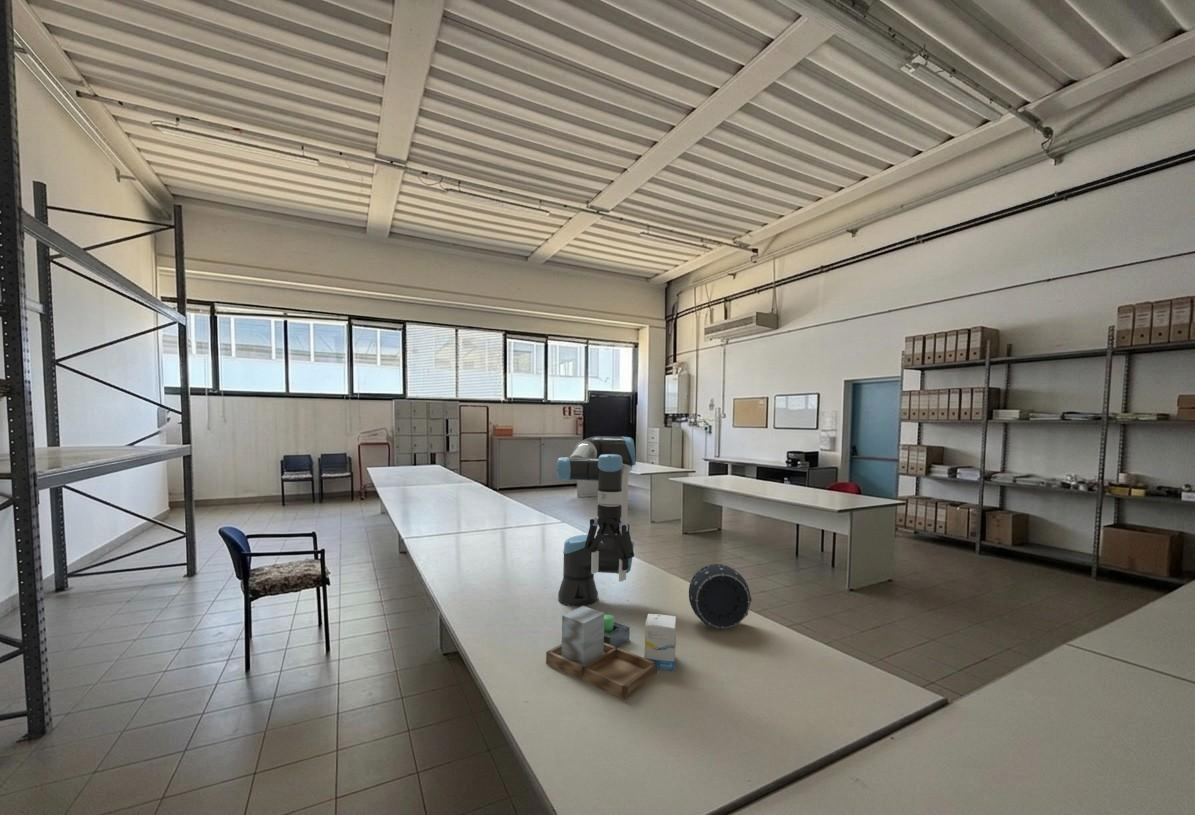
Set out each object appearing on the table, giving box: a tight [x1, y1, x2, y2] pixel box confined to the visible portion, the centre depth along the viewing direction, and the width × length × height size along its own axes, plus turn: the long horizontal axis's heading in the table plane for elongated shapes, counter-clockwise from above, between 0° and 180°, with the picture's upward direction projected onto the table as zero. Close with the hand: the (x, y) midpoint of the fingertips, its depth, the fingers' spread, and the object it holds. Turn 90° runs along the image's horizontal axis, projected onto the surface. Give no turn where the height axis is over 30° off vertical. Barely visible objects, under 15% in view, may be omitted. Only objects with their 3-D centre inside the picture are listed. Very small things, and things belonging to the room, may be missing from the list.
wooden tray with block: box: [545, 606, 658, 701], centre depth 129 cm, size 27×15×13 cm, turn 52°
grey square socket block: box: [604, 621, 631, 648], centre depth 145 cm, size 10×10×4 cm
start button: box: [604, 614, 615, 633], centre depth 145 cm, size 4×4×5 cm
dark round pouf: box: [688, 563, 753, 630], centre depth 157 cm, size 11×20×20 cm, turn 89°
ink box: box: [643, 613, 677, 671], centre depth 133 cm, size 9×8×12 cm
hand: (608, 576), depth 145 cm, fingers open, 10 cm apart
